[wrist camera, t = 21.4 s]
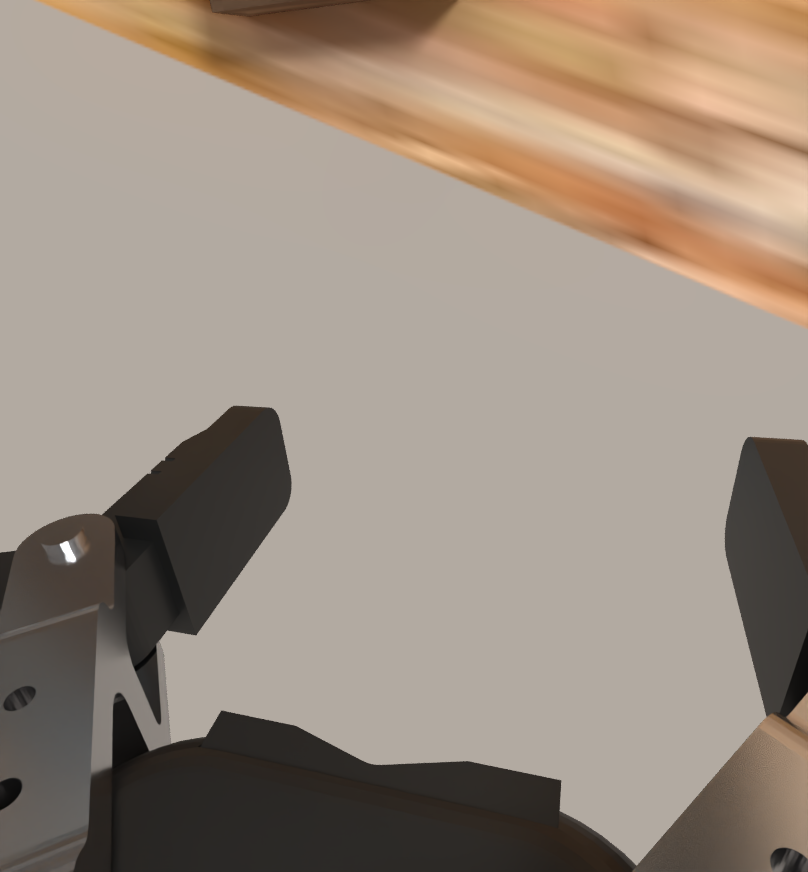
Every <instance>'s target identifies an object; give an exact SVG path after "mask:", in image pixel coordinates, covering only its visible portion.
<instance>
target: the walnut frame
mask: <svg viewBox="0 0 808 872" xmlns="http://www.w3.org/2000/svg"><path fill="white" fill-rule="evenodd" d="M360 1H367V0H210V4H211V9H212V12H214V13H222V14H230V15H239V16H255V15H262V14H270V13H277V12H285V11H292V10H300V9H307V8H315V7H322V6H330V5H337V4H345V3H352V2H360Z"/></svg>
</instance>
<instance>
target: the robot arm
mask: <svg viewBox="0 0 808 872" xmlns="http://www.w3.org/2000/svg"><path fill="white" fill-rule="evenodd" d="M290 494H291V475H290V470H289V465H288V460H287V455H286V450H285V445H284V440H283V435H282V430H281V425H280V420H279V417H278V415H277V413H276V411H275V410H274V409H272V408H266V407H249V406H233V407H231V408H229V409H228V410H227V411H226V412H225V413H224V414H223V415H222V416H221V417H220V418H219V419H218V420H217V421H216V422H214V423H213V424H212V425H211V426H210V427H209V428H208V429H207V430H204V431H202V432H200V433H199V434H197V435H195V436H193V437H191V438H189V439H187V440H185V441H183V442H182V443H181V444H180V445H179V446H178V447H176V448H175V449H174V450H173V451H172V452H171V453H170V454H169V455H168V456H166V458H165V461H161V462H160V463H159V464H158V465H157V466H155V467H154V468H153V469H152V470H151V474H147V475H146V476H144V477H143V478H142V479H141V480H140V481H139V482H138V483H137V484H136V485H134V486H133V487H132V488H131V489H130V490H129V491H128V492H127V493H126V494H124V495H123V496H122V497H121V498H120V499H119V500H118V501H117V502H116V503H114V504H113V505H112V506H111V507H110V508H109V509H108V510H107V511H106V512H105V513H104V514H102V515H99V514H81V515H75V516H70V517H66V518H63V519H60V520H57V521H55V522H53V523H50V524H48V525H46V526H44V527H42V528H40V529H39V530H37V531H35V532H34V533H33V534H31V535H30V536H29V537H27V538H26V539H25V540H24V541H23V542H22V543H21V544H20V545H19V547H18V548H17V550H16V551H11V552H2V553H0V872H808V445H807V443H806V442H805V441H804V440H794V439H777V438H760V437H748V438H747V439H746V441H745V443H744V445H743V448H742V451H741V456H740V460H739V465H738V469H737V474H736V479H735V483H734V487H733V492H732V496H731V501H730V506H729V511H728V515H727V521H726V528H725V550H726V557H727V561H728V565H729V569H730V573H731V577H732V581H733V585H734V589H735V593H736V597H737V601H738V605H739V609H740V613H741V617H742V621H743V625H744V629H745V632H746V637H747V640H748V645H749V649H750V652H751V656H752V661H753V665H754V668H755V672H756V676H757V680H758V684H759V688H760V692H761V696H762V700H763V704H764V708H765V712H766V716H767V718H766V719H764V720H763V721H762V722H761V723H760V725H759V726H758V727H757V728H756V729H755V730H754V731H753V733H752V734H751V735H750V736H749V738H748V739H746V741H745V742H744V743H743V744H742V745H741V747H740V748H739V749H738V750H737V751H736V752H735V753H734V754H733V756H732V757H731V758H730V759H729V760H728V761H727V763H726V764H725V765H724V766H723V767H722V768H721V769H720V771H719V772H718V773H717V774H716V775H715V777H714V778H713V779H712V780H711V781H710V782H709V783H708V784H707V786H706V787H705V788H704V789H703V790H702V791H701V793H700V794H699V795H698V796H697V797H696V798H695V800H694V801H693V802H692V803H691V804H690V805H689V806H688V807H687V809H686V810H685V811H684V812H683V813H682V814H681V816H680V817H679V818H678V819H677V820H676V821H675V823H674V824H673V825H672V826H671V827H670V828H669V829H668V831H667V832H666V833H665V834H664V835H663V836H662V838H661V839H660V840H659V841H658V842H657V843H656V844H655V846H654V847H653V848H652V849H651V850H650V851H649V852H648V854H647V855H646V856H645V857H644V858H643V859H642V861H641V862H640V863H639V864H638V865H637V866H636V865H635V864H634V863H633V862H632V861H631V860H630V859H629V858H628V857H627V856H626V855H625V854H624V853H623V852H622V851H620V850H619V849H618V848H617V847H615V846H614V845H613V844H612V843H610V842H609V841H608V840H607V839H605V838H604V837H603V836H602V835H600V834H598V833H597V832H595V831H594V830H592V829H591V828H589V827H588V826H586V825H585V824H583V823H581V822H580V821H578V820H576V819H574V818H572V817H570V816H568V815H566V814H564V813H562V812H560V811H559V810H560V792H561V780H556V779H551V778H546V777H542V776H537V775H532V774H527V773H522V772H517V771H512V770H508V769H503V768H498V767H493V766H488V765H483V764H478V763H474V762H468V761H466V762H464V761H463V762H440V763H417V764H396V765H395V764H394V765H373V764H369V763H366V762H364V761H362V760H360V759H358V758H356V757H354V756H352V755H350V754H348V753H346V752H344V751H342V750H340V749H338V748H337V747H335V746H333V745H331V744H329V743H327V742H325V741H323V740H322V739H320V738H318V737H316V736H314V735H312V734H310V733H308V732H306V731H304V730H303V729H301V728H299V727H297V726H294V725H289V724H284V723H279V722H274V721H269V720H264V719H259V718H254V717H249V716H245V715H240V714H235V713H231V712H226V711H221V712H220V714H219V716H218V717H217V719H216V721H215V722H214V724H213V726H212V727H211V729H210V731H209V733H208V734H207V736H206V737H202V738H196V739H190V740H184V741H179V742H176V743H172V744H171V738H170V725H169V713H168V700H167V689H166V677H165V663H164V654H163V650H162V647H161V644H160V642H159V640H160V639H161V638H162V636H163V635H164V634H165V632H166V631H167V630H168V631H174V632H180V633H185V634H191V635H197V633H198V632H199V630H200V629H201V628H202V626H203V625H204V623H205V622H206V621H207V619H208V618H209V616H210V615H211V613H212V612H213V611H214V609H215V608H216V606H217V605H218V604H219V602H220V601H221V599H222V598H223V596H224V595H225V594H226V592H227V591H228V589H229V588H230V587H231V585H232V584H233V582H234V581H235V580H236V578H237V577H238V575H239V574H240V573H241V571H242V570H243V568H244V567H245V565H246V564H247V563H248V561H249V560H250V559H251V557H252V556H253V554H254V553H255V551H256V550H257V549H258V547H259V546H260V544H261V543H262V541H263V540H264V539H265V537H266V536H267V535H268V533H269V532H270V530H271V529H272V527H273V526H274V525H275V523H276V522H277V520H278V519H279V518H280V516H281V515H282V513H283V512H284V511H285V509H286V507H287V505H288V502H289V499H290Z"/></svg>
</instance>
